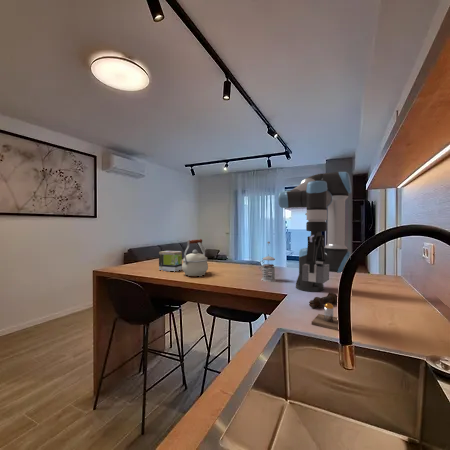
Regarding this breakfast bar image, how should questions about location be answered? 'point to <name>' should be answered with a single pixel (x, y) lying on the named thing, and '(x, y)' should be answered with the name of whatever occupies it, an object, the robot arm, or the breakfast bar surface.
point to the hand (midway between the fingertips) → (315, 279)
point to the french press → (268, 270)
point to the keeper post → (328, 312)
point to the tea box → (170, 260)
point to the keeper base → (321, 322)
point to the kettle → (195, 261)
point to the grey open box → (321, 272)
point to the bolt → (323, 300)
